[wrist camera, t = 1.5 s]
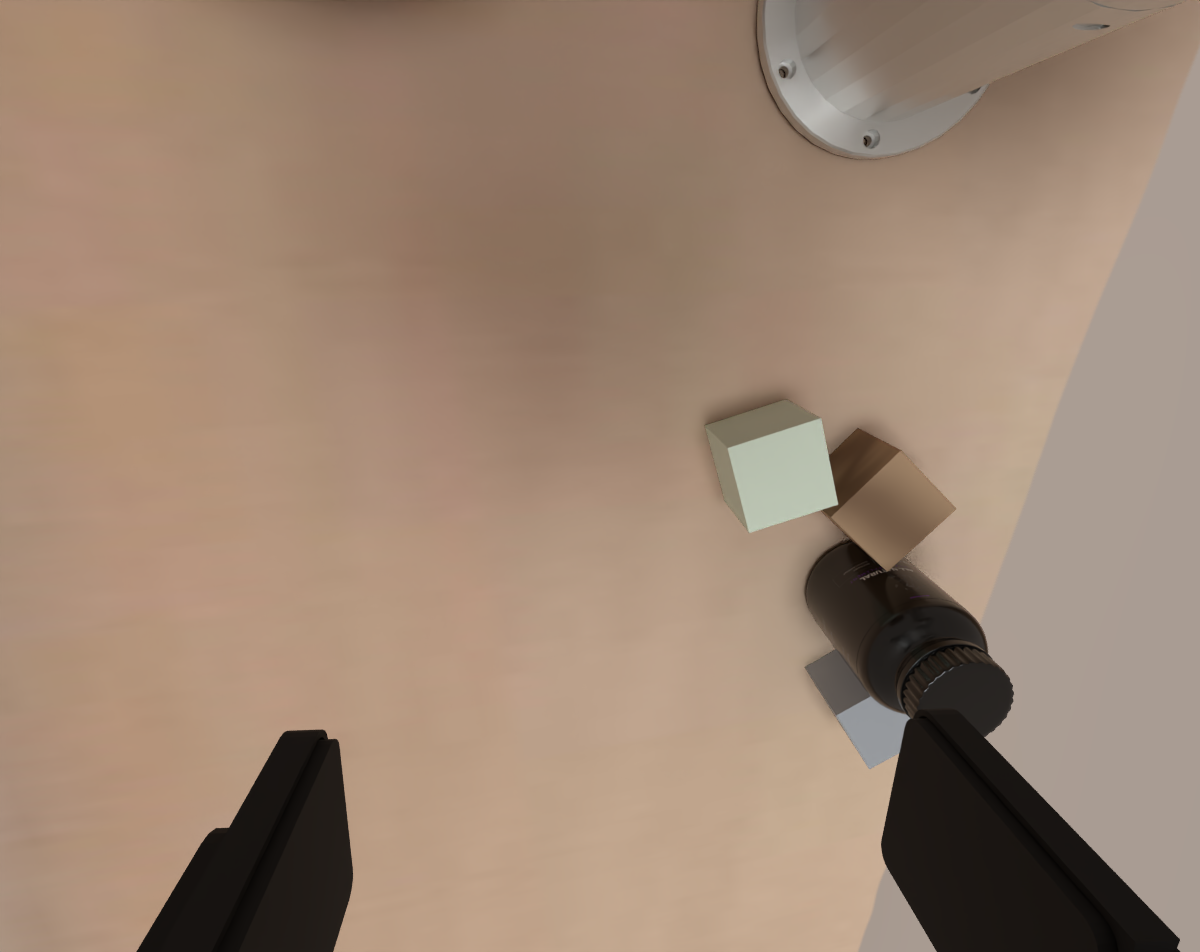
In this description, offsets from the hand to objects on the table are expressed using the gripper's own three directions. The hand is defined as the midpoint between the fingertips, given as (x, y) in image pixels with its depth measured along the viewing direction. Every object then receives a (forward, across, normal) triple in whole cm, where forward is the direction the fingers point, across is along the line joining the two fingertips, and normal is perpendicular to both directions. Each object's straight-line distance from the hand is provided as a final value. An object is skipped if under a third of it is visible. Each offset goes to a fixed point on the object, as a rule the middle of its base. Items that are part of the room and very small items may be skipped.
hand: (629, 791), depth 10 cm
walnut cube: (+28, -18, +4) cm, 33 cm away
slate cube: (+28, -20, +17) cm, 38 cm away
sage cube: (+28, -11, +2) cm, 30 cm away
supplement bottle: (+28, -19, +10) cm, 35 cm away
